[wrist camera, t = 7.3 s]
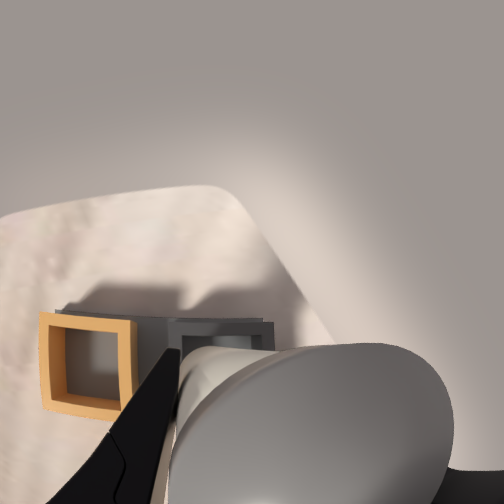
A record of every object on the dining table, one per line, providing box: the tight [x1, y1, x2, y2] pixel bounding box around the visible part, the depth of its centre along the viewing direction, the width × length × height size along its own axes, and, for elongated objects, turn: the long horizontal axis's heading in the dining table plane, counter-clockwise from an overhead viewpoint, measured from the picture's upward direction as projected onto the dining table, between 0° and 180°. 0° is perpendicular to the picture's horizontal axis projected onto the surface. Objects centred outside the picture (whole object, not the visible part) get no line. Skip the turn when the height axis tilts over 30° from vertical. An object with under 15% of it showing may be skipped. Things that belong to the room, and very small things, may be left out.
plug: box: [168, 343, 454, 504], centre depth 8 cm, size 4×4×13 cm
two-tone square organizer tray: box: [39, 309, 275, 422], centre depth 17 cm, size 16×8×4 cm, turn 92°
